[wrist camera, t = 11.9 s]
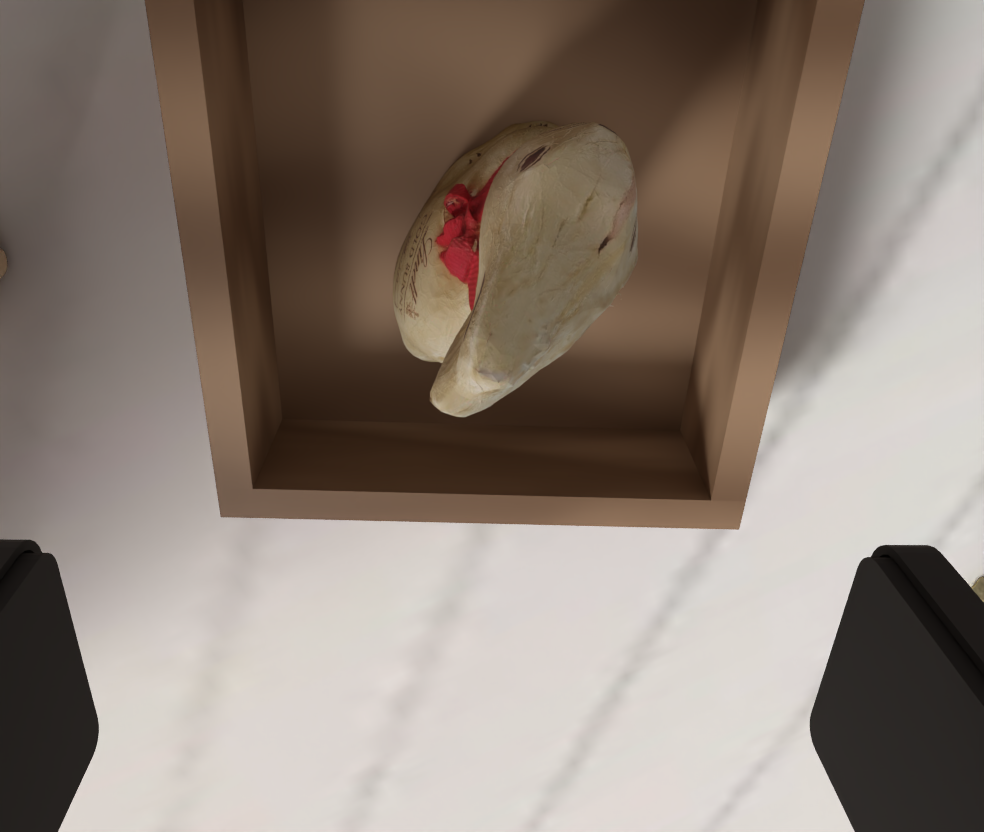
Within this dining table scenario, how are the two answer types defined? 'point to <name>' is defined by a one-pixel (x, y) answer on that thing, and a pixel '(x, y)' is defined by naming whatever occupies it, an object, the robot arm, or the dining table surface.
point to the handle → (3, 263)
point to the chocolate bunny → (515, 257)
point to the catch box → (408, 185)
